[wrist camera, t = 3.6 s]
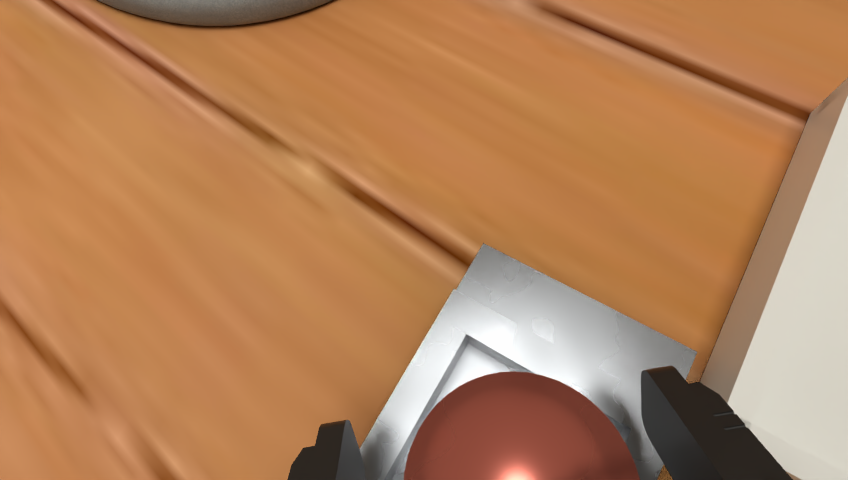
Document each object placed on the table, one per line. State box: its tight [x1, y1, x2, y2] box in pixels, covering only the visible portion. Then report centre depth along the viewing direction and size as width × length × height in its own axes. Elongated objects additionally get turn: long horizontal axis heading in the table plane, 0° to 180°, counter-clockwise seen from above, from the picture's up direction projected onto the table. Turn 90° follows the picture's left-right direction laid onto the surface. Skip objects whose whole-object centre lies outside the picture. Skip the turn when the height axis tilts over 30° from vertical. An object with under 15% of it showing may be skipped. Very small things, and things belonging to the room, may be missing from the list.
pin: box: [404, 371, 640, 480], centre depth 13 cm, size 4×4×10 cm
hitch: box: [359, 243, 697, 480], centre depth 17 cm, size 14×9×3 cm, turn 149°
